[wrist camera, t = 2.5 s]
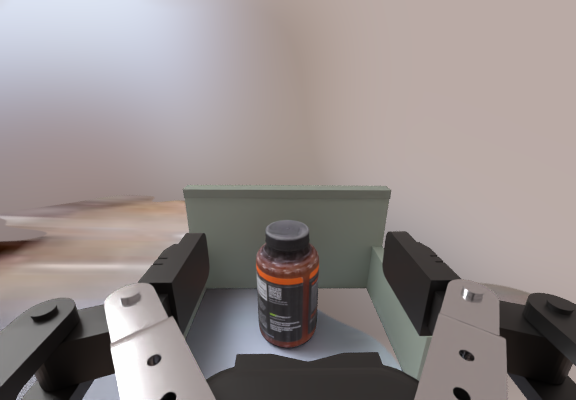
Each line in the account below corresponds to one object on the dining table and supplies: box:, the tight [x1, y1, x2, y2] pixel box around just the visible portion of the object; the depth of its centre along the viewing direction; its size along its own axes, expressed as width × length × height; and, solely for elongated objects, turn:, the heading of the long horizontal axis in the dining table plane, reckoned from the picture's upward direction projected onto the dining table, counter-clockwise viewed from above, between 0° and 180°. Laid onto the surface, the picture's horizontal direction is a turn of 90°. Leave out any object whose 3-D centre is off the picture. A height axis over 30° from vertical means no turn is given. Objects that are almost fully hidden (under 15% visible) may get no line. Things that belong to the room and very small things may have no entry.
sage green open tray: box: [183, 185, 432, 381], centre depth 26 cm, size 14×22×13 cm, turn 91°
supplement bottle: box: [256, 220, 319, 348], centre depth 26 cm, size 6×6×11 cm
